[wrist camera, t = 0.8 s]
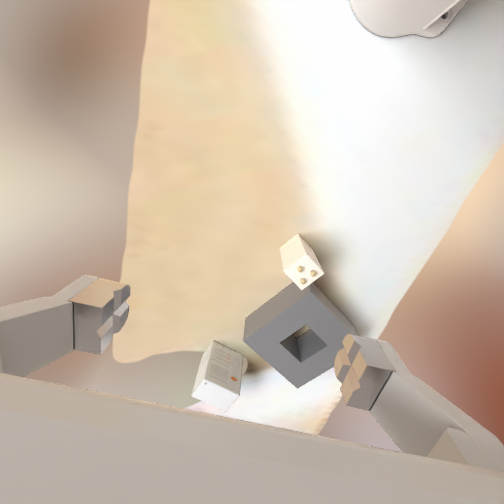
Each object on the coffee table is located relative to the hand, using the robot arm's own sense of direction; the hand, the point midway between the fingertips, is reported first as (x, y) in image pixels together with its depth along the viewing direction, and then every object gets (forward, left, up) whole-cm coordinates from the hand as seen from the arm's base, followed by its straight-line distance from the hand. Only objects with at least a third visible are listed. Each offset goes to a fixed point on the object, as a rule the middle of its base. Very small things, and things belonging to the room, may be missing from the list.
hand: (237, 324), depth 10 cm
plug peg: (+2, +13, -38) cm, 40 cm away
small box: (+31, +22, -38) cm, 54 cm away
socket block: (+12, +26, -38) cm, 48 cm away
